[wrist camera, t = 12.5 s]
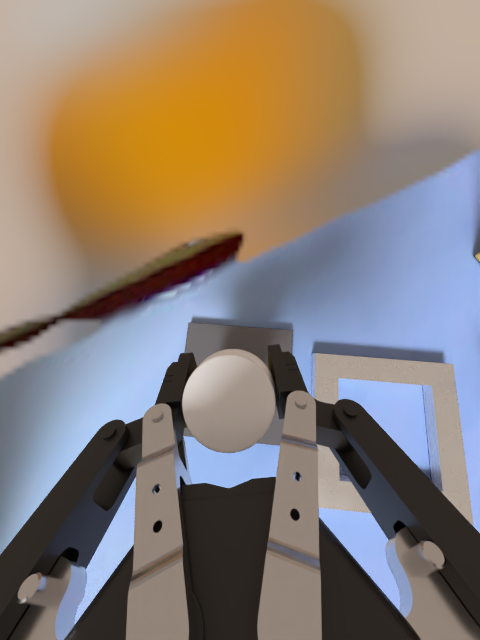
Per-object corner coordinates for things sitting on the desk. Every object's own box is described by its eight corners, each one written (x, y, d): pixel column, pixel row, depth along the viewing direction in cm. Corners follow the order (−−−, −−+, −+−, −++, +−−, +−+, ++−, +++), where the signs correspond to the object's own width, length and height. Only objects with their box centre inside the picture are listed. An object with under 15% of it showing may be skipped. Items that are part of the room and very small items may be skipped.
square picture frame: (310, 498, 17) (314, 506, 16) (311, 353, 20) (315, 353, 19) (460, 515, 17) (473, 524, 16) (442, 364, 19) (453, 364, 18)
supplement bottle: (209, 353, 17) (176, 343, 9) (265, 353, 17) (283, 343, 9) (207, 414, 16) (168, 463, 8) (267, 415, 16) (287, 466, 8)
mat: (175, 432, 19) (173, 435, 18) (190, 323, 21) (188, 322, 20) (287, 443, 18) (289, 446, 18) (291, 331, 20) (292, 330, 20)
